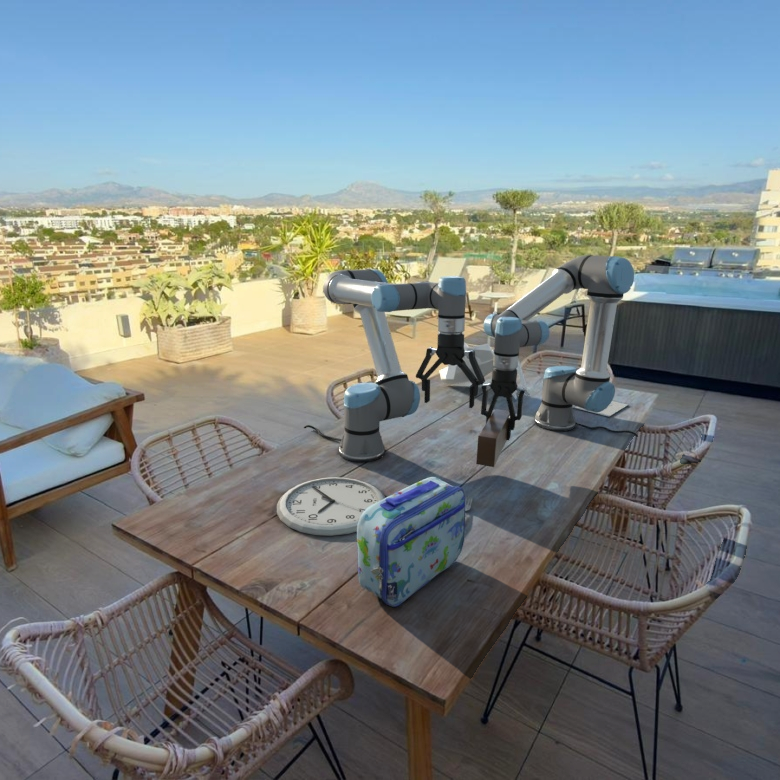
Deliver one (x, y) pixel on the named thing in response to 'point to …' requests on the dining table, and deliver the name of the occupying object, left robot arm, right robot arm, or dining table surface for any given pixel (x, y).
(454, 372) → the white plastic object
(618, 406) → the invitation card
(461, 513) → the lunch box
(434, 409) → the dining table surface
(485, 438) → the bar
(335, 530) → the wall clock
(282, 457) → the dining table surface
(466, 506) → the fork
